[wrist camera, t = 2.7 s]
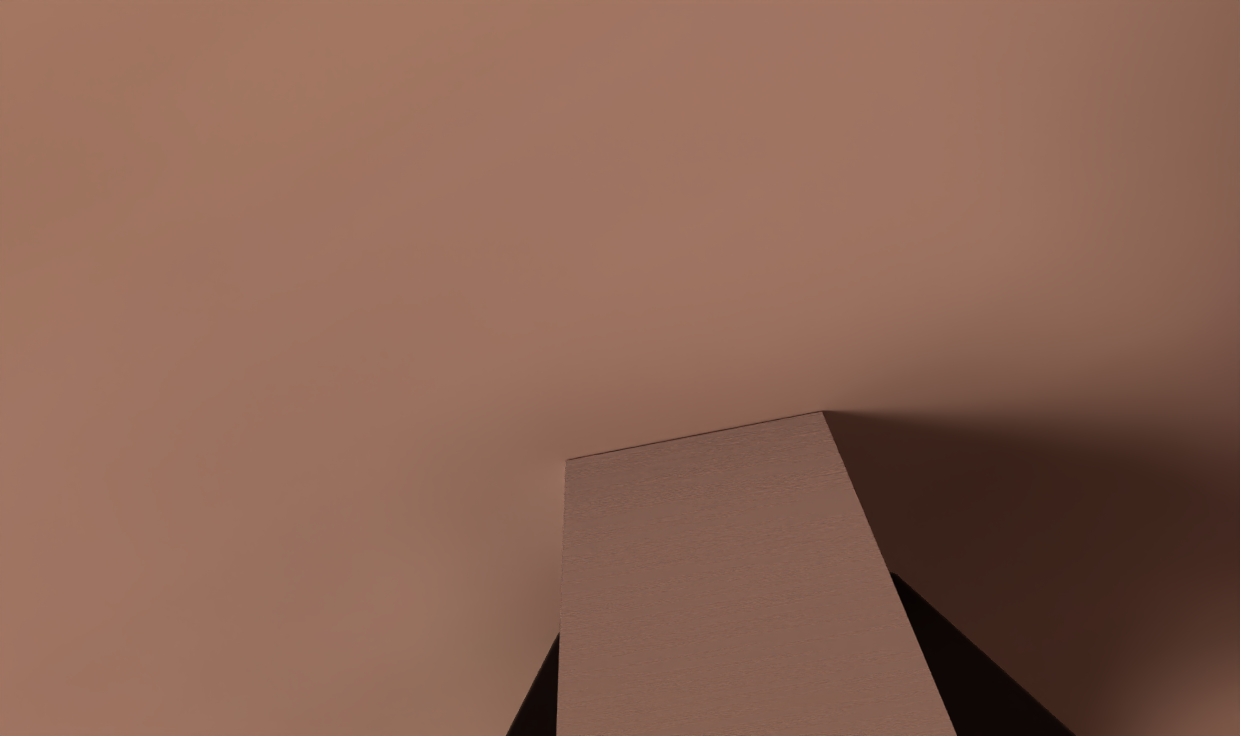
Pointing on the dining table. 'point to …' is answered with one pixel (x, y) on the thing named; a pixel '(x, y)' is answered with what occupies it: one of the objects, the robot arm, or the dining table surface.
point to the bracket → (732, 595)
